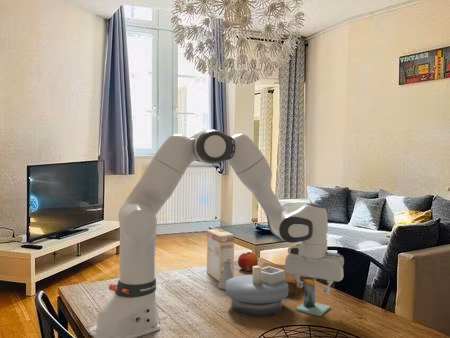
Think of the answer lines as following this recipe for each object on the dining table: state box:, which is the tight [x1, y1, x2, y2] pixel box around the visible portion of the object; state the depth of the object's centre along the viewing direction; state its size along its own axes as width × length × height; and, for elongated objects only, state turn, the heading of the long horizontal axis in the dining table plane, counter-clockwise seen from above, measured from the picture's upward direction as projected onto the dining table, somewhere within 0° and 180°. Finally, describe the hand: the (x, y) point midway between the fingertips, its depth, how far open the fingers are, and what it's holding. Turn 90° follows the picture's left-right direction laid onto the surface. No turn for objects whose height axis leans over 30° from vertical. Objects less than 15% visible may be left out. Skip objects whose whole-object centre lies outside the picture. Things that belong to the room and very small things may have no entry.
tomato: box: [237, 251, 259, 272], centre depth 202 cm, size 9×9×8 cm
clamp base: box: [230, 298, 283, 318], centre depth 156 cm, size 18×18×5 cm
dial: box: [225, 265, 289, 303], centre depth 156 cm, size 22×22×9 cm
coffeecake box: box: [206, 228, 235, 283], centre depth 191 cm, size 15×7×20 cm, turn 23°
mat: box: [295, 302, 331, 317], centre depth 154 cm, size 9×9×1 cm
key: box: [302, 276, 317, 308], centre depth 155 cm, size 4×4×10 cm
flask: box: [217, 262, 232, 291], centre depth 177 cm, size 7×7×10 cm
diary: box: [251, 262, 304, 297], centre depth 181 cm, size 23×19×6 cm
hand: (313, 289), depth 154 cm, fingers open, 8 cm apart
